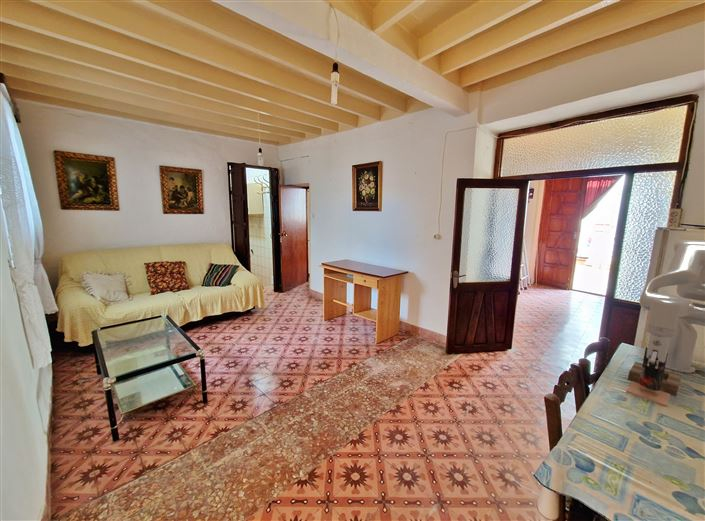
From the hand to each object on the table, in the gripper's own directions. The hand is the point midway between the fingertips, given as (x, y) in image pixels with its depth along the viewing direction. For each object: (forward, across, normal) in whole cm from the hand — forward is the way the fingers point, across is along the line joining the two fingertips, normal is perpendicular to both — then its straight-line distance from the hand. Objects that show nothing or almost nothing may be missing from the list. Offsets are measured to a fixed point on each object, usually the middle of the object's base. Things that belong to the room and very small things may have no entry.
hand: (652, 373), depth 113 cm
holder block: (+9, +14, 0) cm, 17 cm away
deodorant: (+6, 0, 0) cm, 6 cm away
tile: (+9, 0, 0) cm, 9 cm away
